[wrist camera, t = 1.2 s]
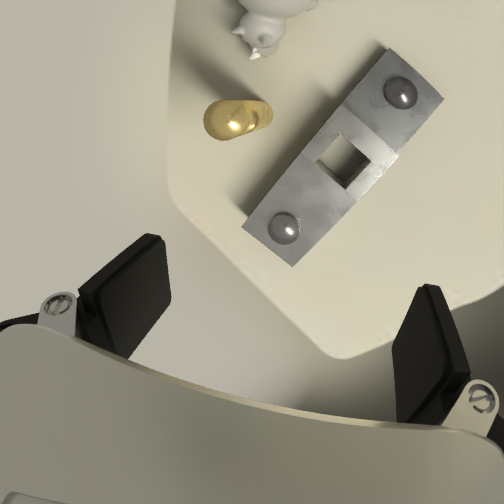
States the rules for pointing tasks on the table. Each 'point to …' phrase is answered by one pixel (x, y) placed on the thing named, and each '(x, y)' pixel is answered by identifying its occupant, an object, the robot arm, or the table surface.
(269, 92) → the table surface
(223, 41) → the table surface
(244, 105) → the pin
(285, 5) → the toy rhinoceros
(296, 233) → the grey flat bar
